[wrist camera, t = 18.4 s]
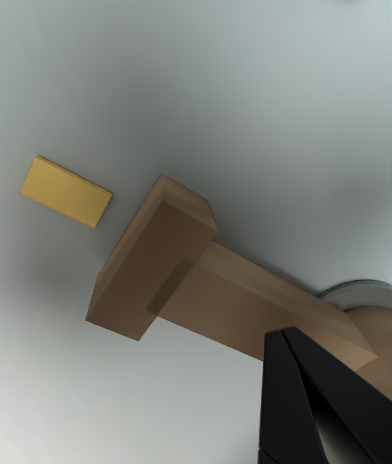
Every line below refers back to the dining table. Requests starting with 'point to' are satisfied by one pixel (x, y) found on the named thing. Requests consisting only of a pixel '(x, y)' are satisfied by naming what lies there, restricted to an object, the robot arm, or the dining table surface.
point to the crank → (223, 290)
